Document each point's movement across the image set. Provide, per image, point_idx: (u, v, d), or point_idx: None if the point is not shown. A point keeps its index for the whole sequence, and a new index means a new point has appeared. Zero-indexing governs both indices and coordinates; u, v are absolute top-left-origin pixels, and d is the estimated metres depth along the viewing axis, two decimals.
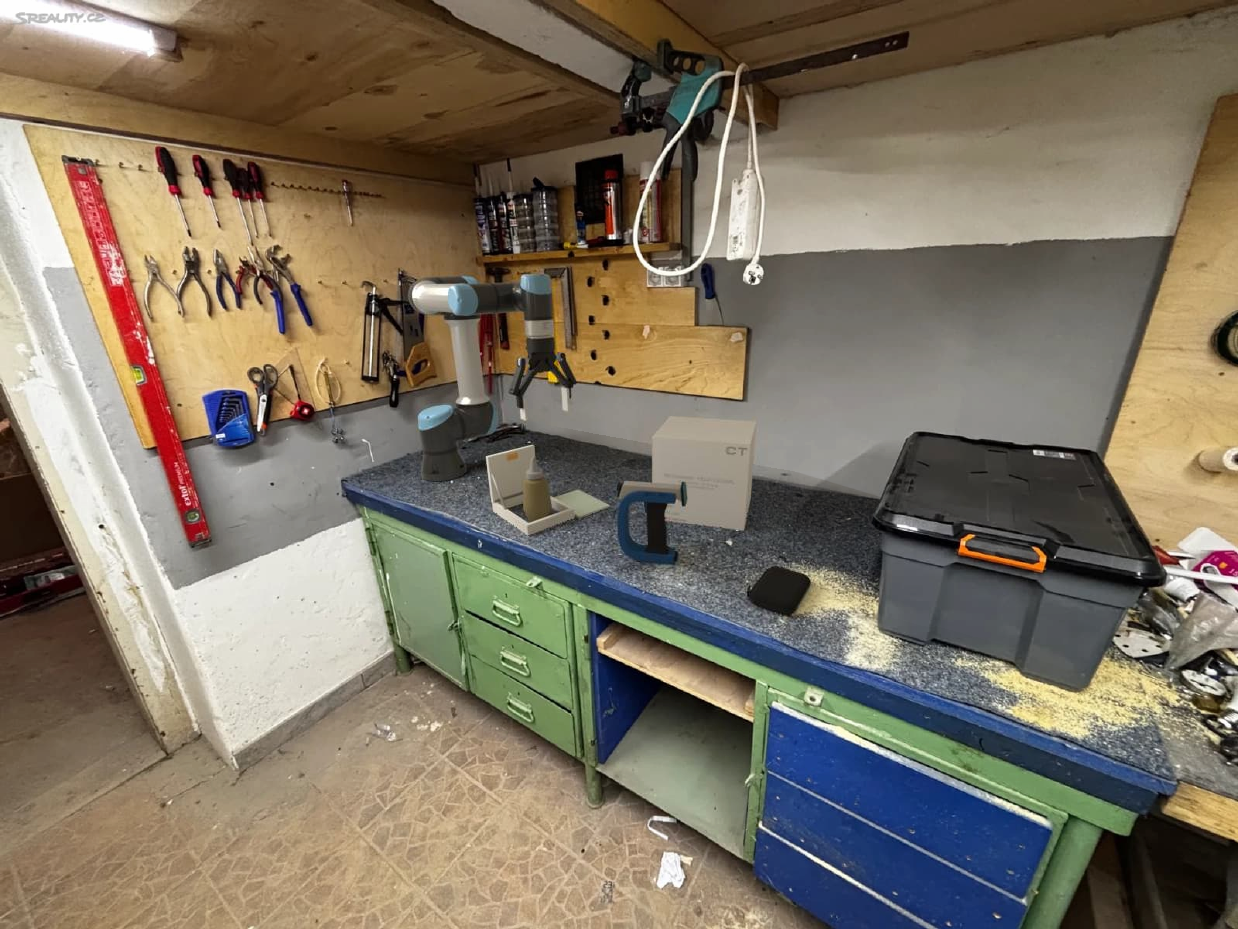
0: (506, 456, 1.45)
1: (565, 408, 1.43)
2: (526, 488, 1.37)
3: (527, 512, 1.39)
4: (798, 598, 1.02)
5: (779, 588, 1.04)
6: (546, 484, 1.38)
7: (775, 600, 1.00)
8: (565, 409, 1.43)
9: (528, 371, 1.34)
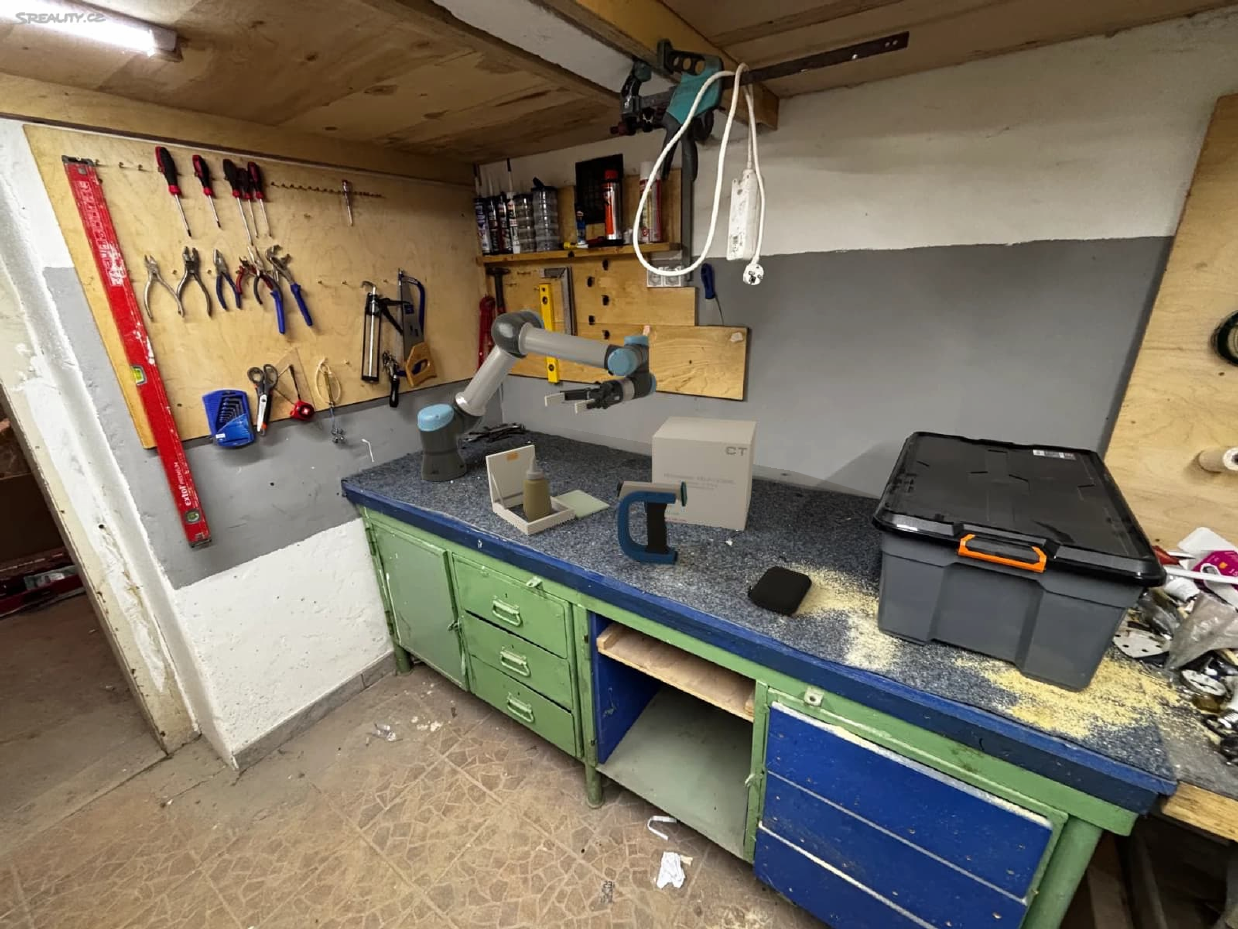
0: (506, 456, 1.45)
1: (548, 401, 1.45)
2: (526, 488, 1.37)
3: (527, 512, 1.39)
4: (799, 598, 1.02)
5: (780, 589, 1.04)
6: (546, 484, 1.38)
7: (775, 600, 1.00)
8: (547, 401, 1.44)
9: (603, 396, 1.45)
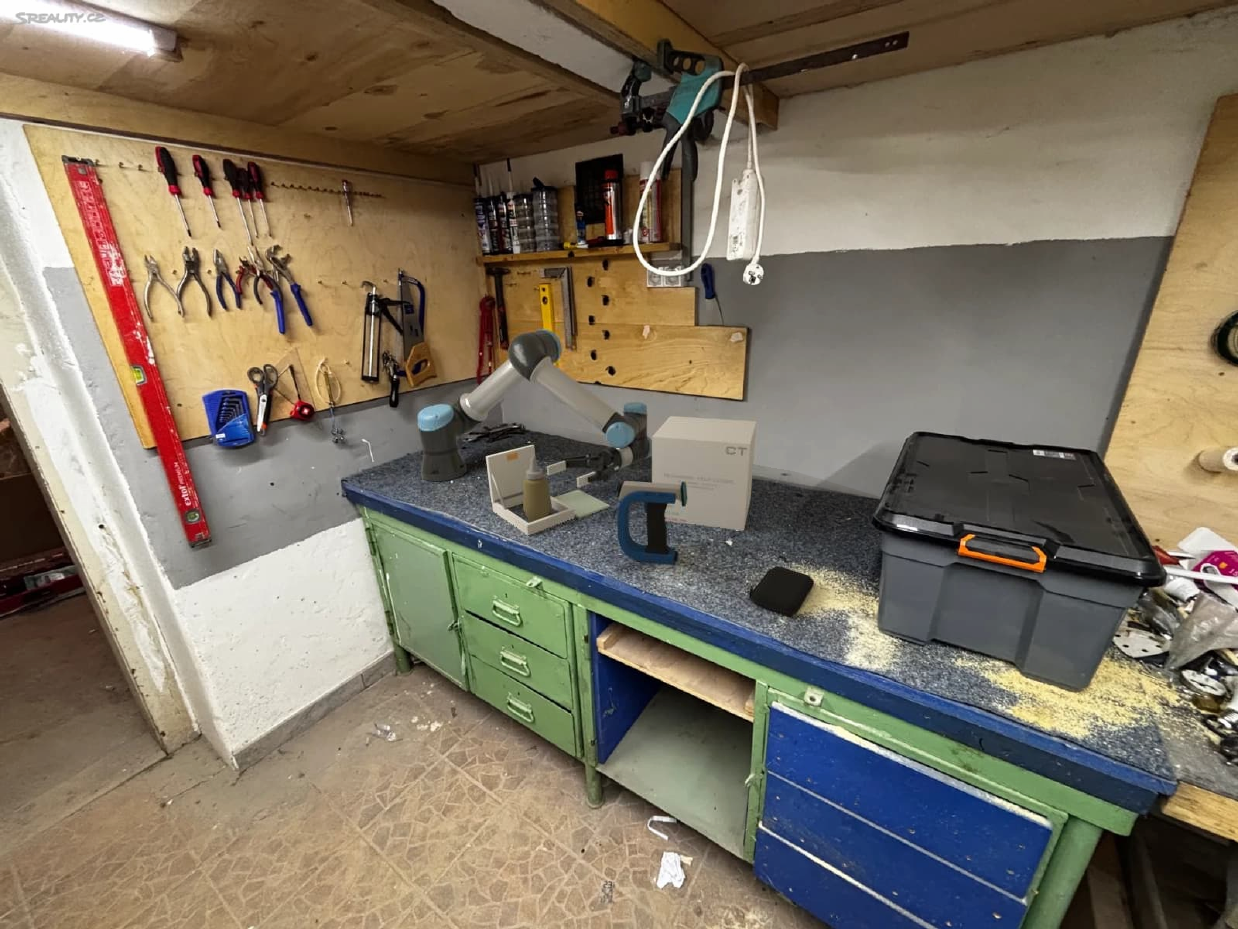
0: (506, 456, 1.45)
1: (550, 471, 1.50)
2: (526, 488, 1.37)
3: (527, 512, 1.39)
4: (800, 599, 1.01)
5: (782, 589, 1.03)
6: (546, 484, 1.38)
7: (777, 600, 1.00)
8: (549, 471, 1.50)
9: (603, 466, 1.50)
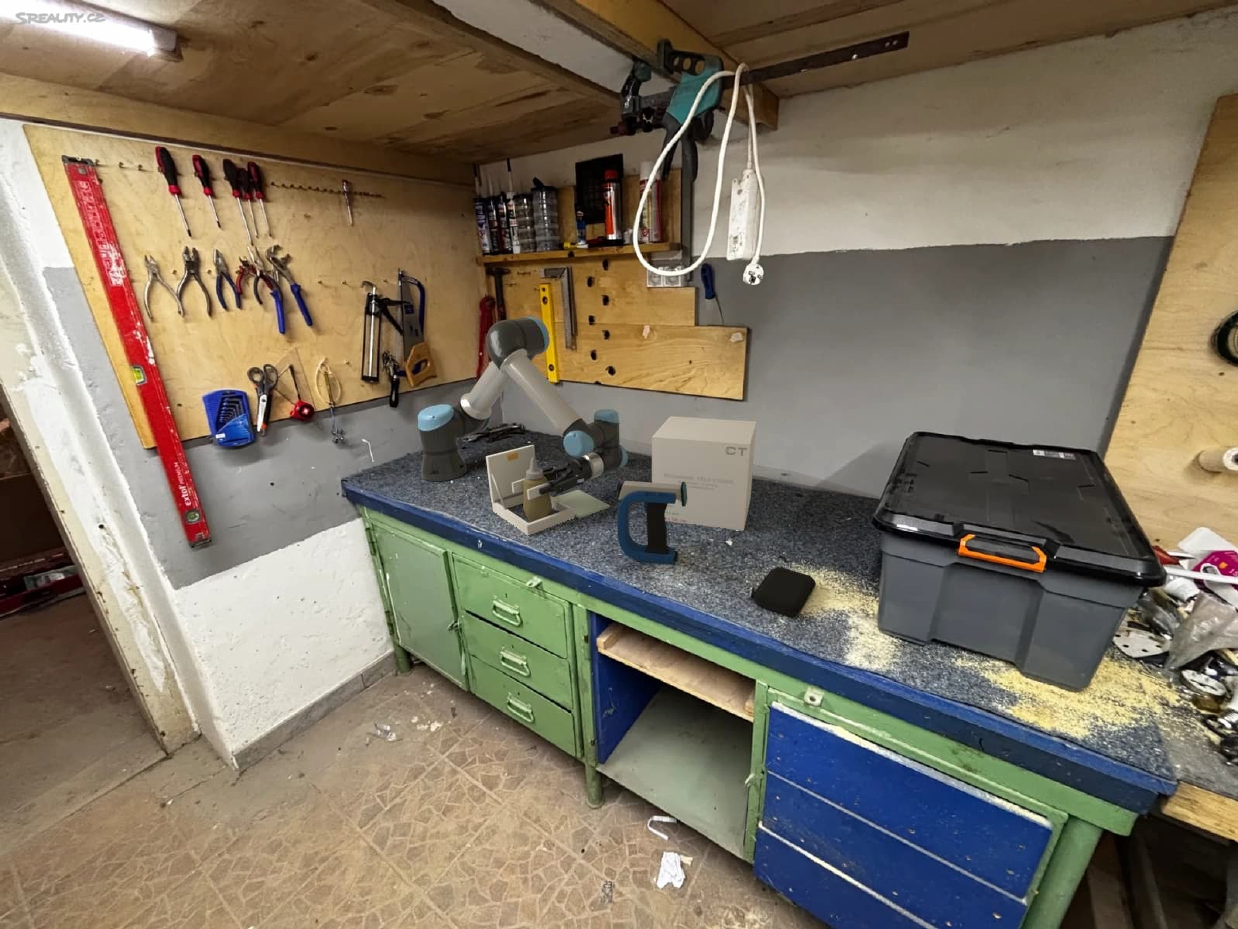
0: (506, 456, 1.45)
1: (515, 487, 1.38)
2: (526, 488, 1.37)
3: (527, 512, 1.39)
4: (803, 600, 1.01)
5: (784, 590, 1.03)
6: None
7: (779, 601, 1.00)
8: (514, 488, 1.38)
9: (566, 477, 1.42)
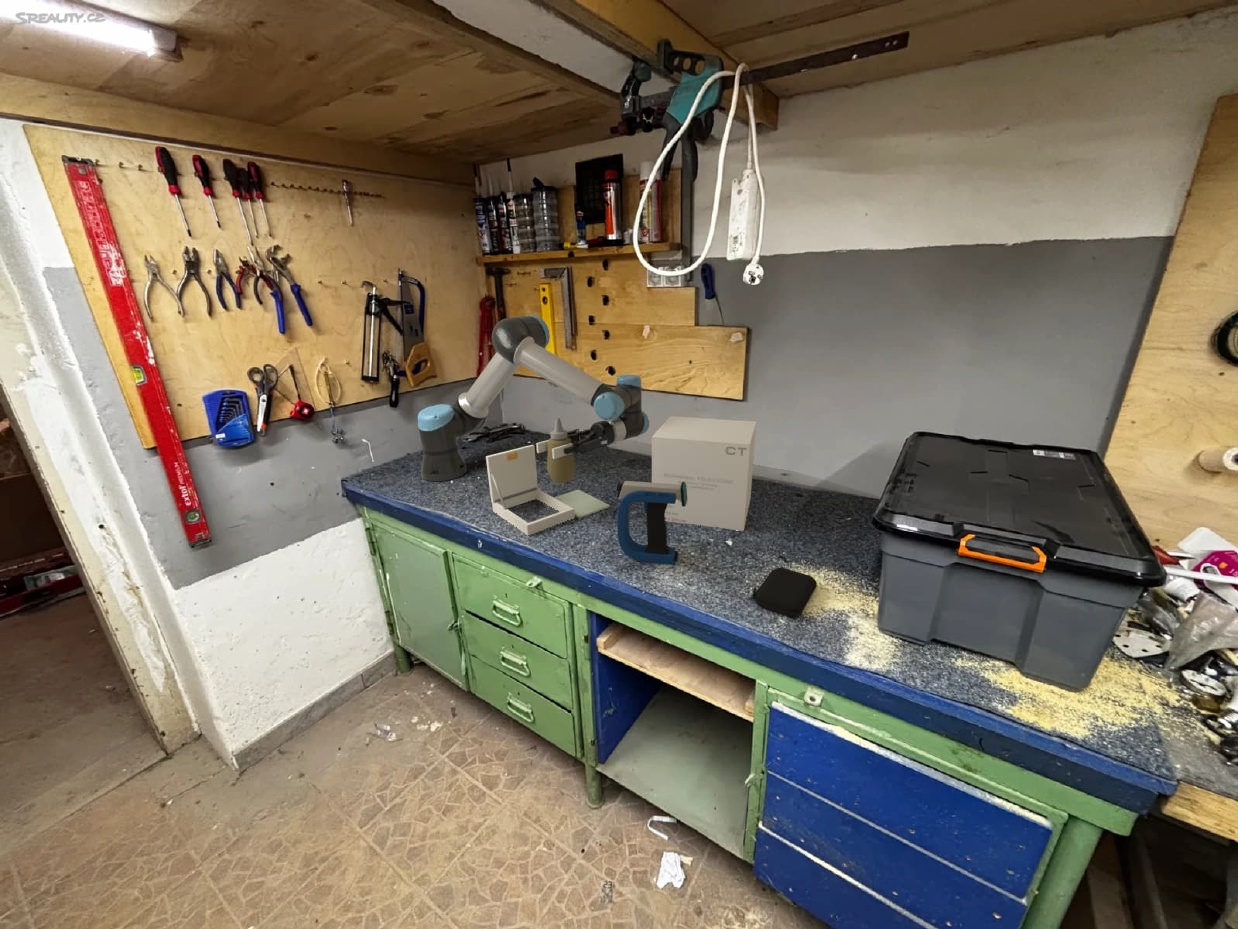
0: (506, 456, 1.45)
1: (540, 448, 1.40)
2: (550, 448, 1.38)
3: (551, 472, 1.40)
4: (804, 600, 1.01)
5: (785, 590, 1.03)
6: None
7: (781, 602, 1.00)
8: (539, 448, 1.40)
9: (589, 439, 1.43)
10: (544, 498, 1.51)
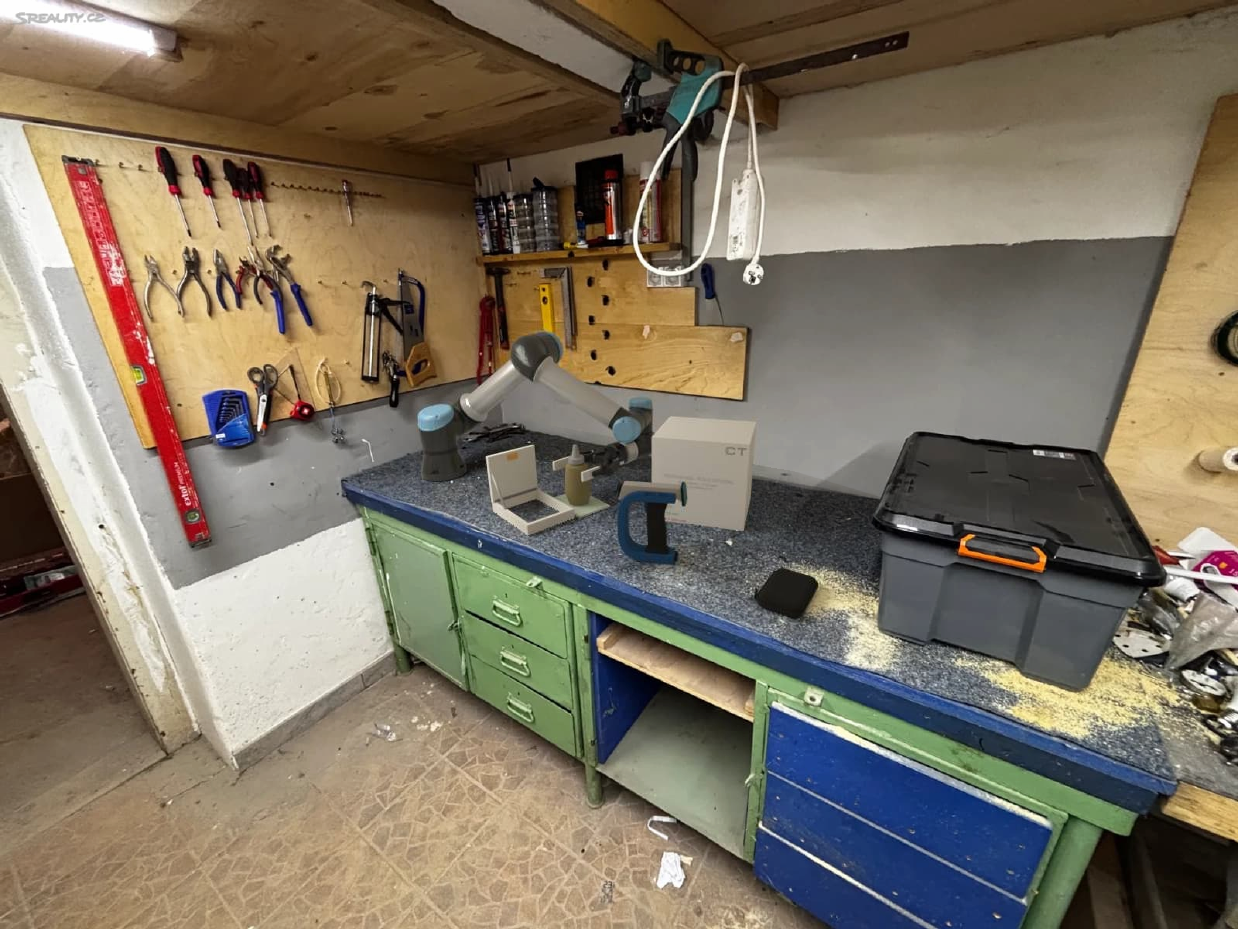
0: (506, 456, 1.45)
1: (556, 466, 1.49)
2: (568, 473, 1.45)
3: (569, 496, 1.47)
4: (806, 601, 1.01)
5: (787, 591, 1.03)
6: (587, 469, 1.46)
7: (783, 602, 1.00)
8: (555, 466, 1.49)
9: (608, 461, 1.50)
10: (544, 498, 1.51)
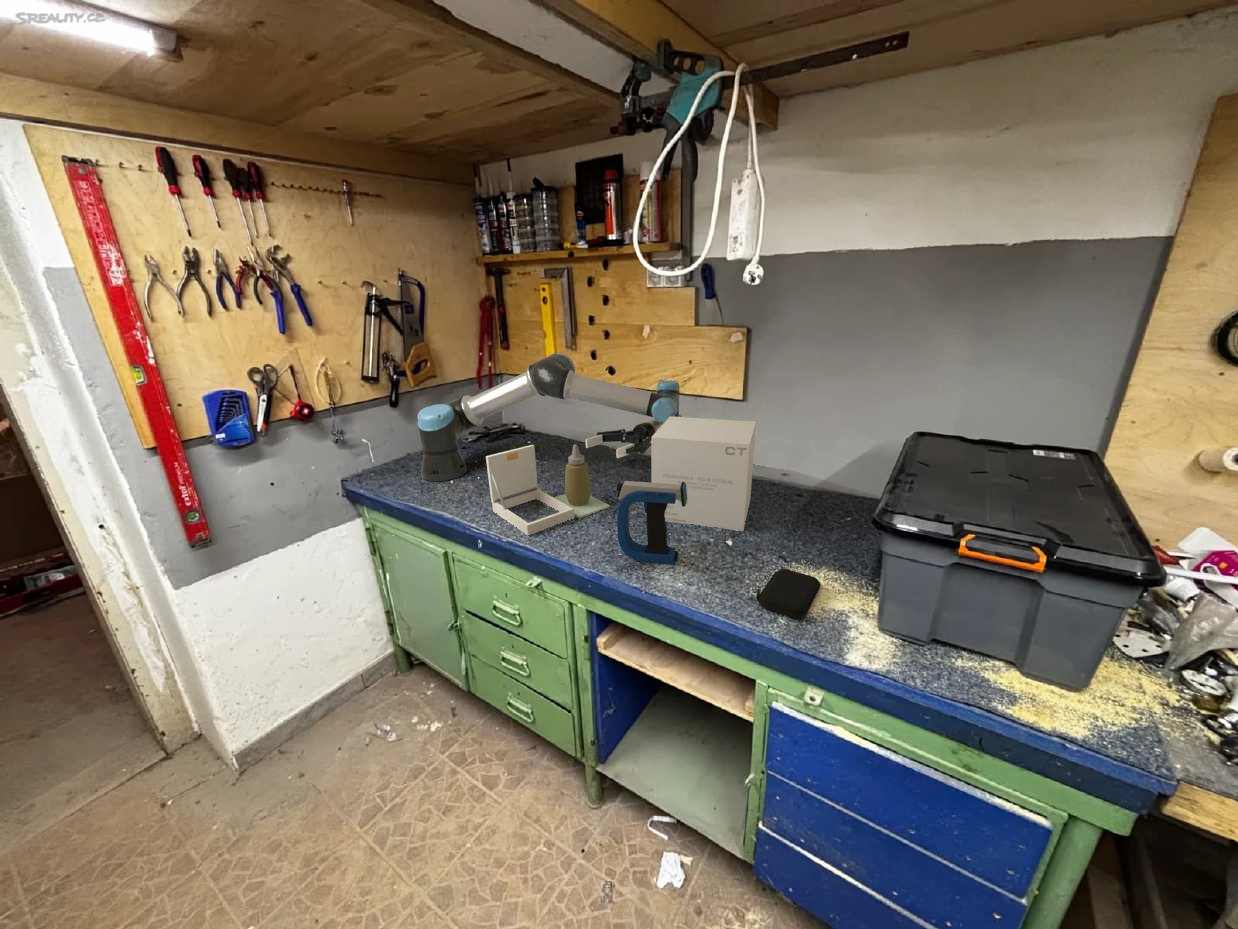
0: (506, 456, 1.45)
1: (588, 443, 1.57)
2: (568, 473, 1.45)
3: (569, 496, 1.47)
4: (809, 601, 1.01)
5: (790, 592, 1.03)
6: (587, 469, 1.46)
7: (785, 603, 0.99)
8: (588, 444, 1.57)
9: None
10: (544, 498, 1.51)
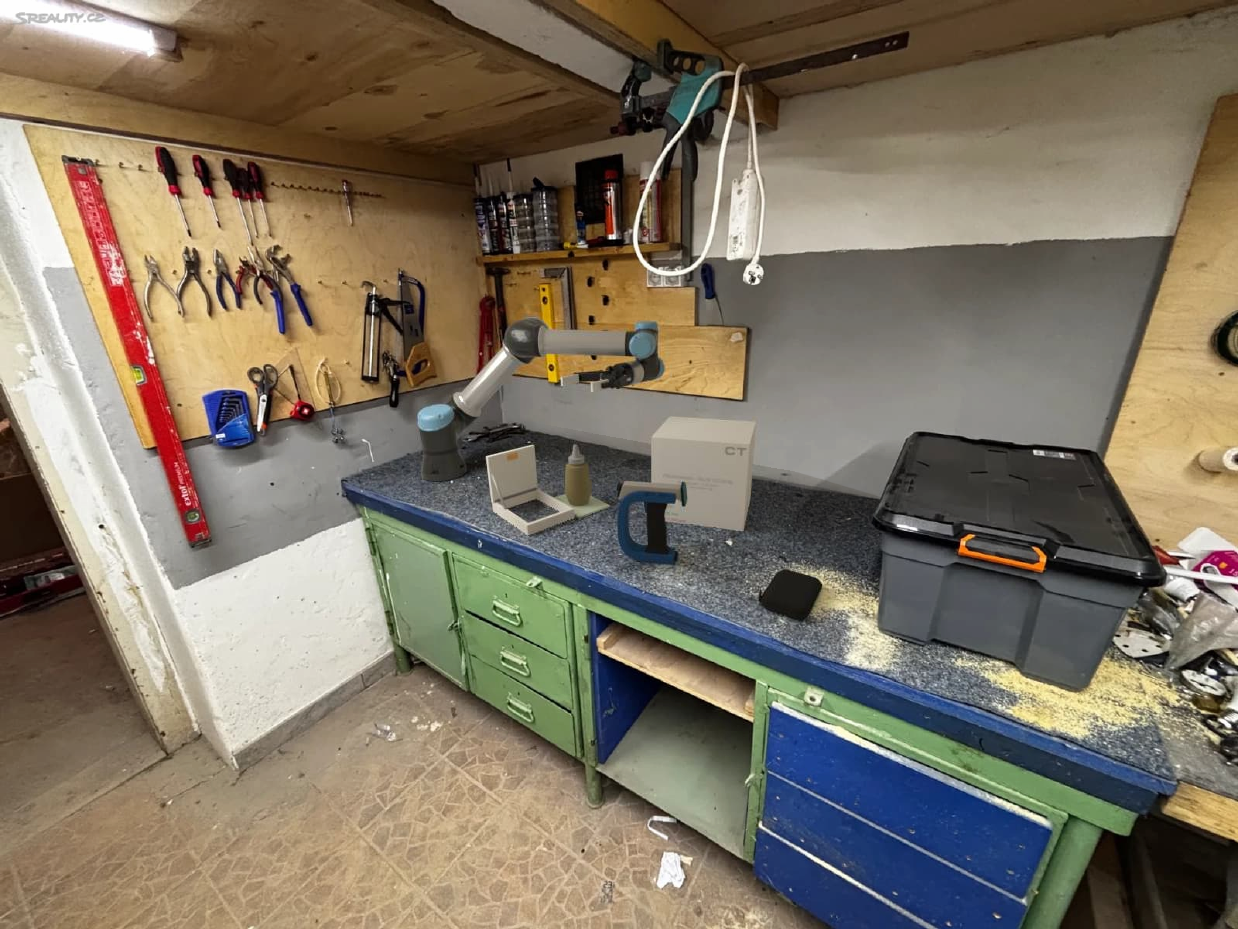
0: (506, 456, 1.45)
1: (564, 382, 1.53)
2: (568, 473, 1.45)
3: (569, 496, 1.47)
4: (811, 602, 1.00)
5: (792, 592, 1.02)
6: (587, 469, 1.46)
7: (788, 604, 0.99)
8: (563, 382, 1.53)
9: None
10: (544, 498, 1.51)
